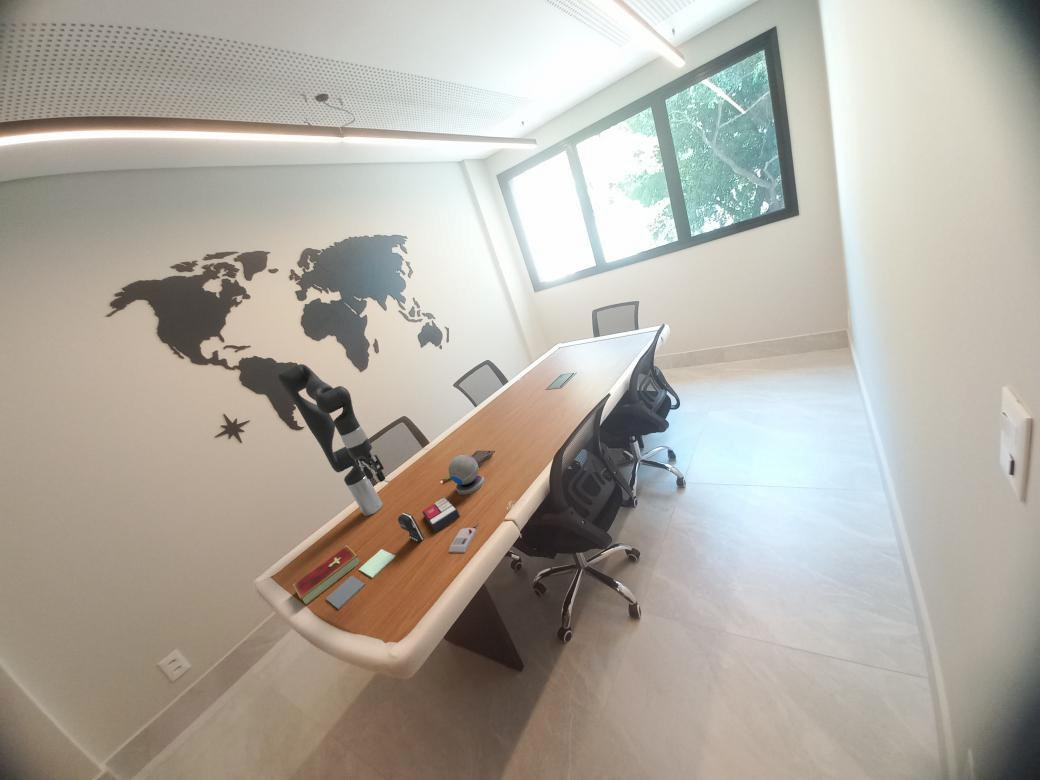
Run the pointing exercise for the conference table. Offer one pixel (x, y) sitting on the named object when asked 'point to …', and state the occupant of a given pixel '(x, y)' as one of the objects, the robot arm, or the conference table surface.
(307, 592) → the hardcover book
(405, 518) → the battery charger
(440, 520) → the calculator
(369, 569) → the green pad
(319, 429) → the robot arm
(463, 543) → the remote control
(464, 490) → the webcam
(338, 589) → the charcoal pad
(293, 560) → the conference table surface
